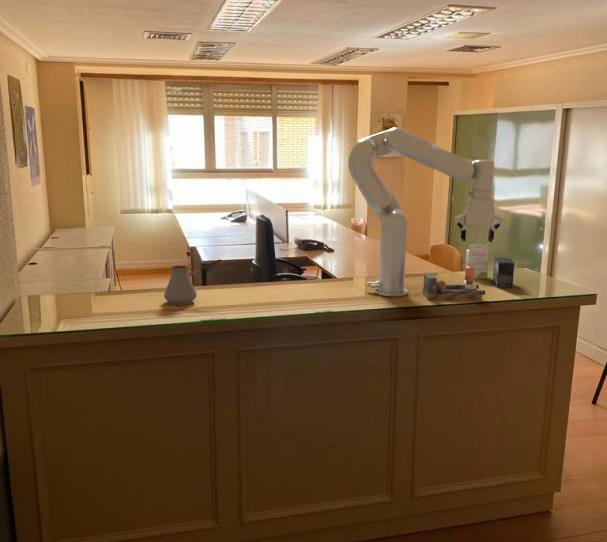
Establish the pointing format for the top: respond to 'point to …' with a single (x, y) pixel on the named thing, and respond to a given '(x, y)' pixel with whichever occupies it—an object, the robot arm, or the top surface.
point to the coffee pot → (182, 285)
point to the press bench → (448, 291)
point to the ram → (468, 279)
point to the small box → (503, 272)
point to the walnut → (440, 285)
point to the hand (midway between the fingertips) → (476, 241)
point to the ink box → (478, 259)
